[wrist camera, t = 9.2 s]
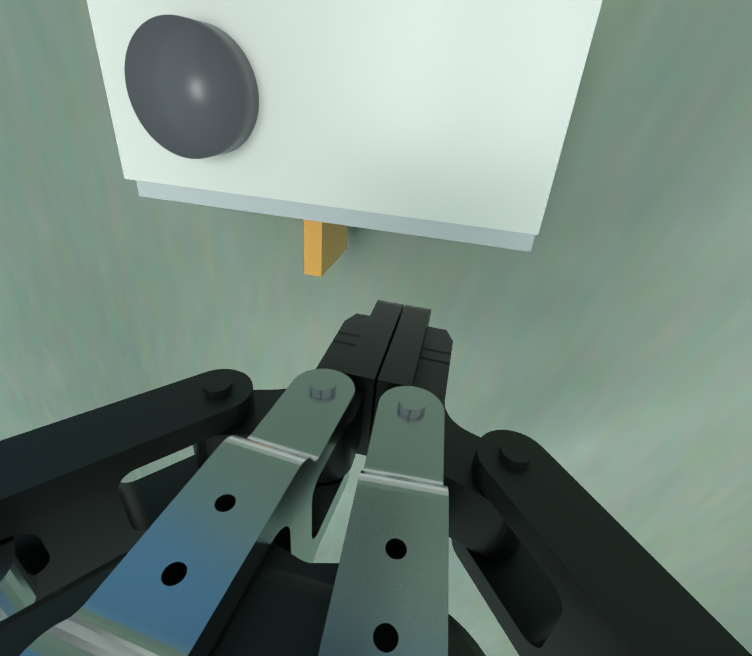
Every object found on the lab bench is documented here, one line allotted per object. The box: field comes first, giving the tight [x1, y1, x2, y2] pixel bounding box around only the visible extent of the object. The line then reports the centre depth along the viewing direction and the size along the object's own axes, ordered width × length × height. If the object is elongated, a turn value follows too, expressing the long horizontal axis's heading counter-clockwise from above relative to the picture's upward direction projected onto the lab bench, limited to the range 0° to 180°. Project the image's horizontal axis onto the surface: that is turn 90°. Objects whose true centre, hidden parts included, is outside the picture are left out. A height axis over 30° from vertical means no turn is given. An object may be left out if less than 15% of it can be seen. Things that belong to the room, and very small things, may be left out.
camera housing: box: [87, 0, 602, 252], centre depth 25 cm, size 11×24×14 cm, turn 85°
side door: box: [304, 220, 348, 277], centre depth 30 cm, size 5×10×7 cm, turn 86°
